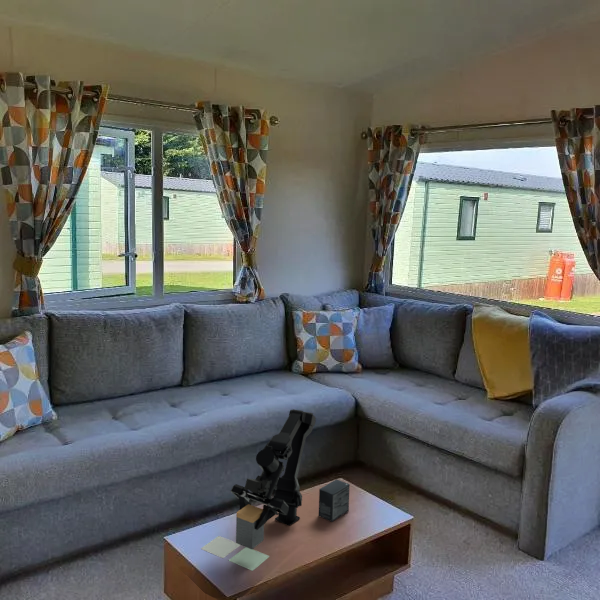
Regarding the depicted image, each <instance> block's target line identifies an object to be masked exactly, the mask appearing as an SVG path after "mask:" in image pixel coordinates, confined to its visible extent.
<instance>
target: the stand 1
mask: <svg viewBox="0 0 600 600" xmlns="http://www.w3.org/2000/svg"><path fill="white" fill-rule="evenodd" d="M240 546H241V545H240V544H237V543H236V541H233V540H231V539H228V538H226V537H223V536H221V535H218V536H216V537H215V538H213V539H212V540H211V541H209V542H208V543H207V544H205V545H204V546H202V547H200V550H203V551H204V552H208V553H210V554H211V555H214V556H217V557H219V558H220V559H225V558H226V557H227V556H228V555H230V554H232V552H234V551H235V550H237V549H238V548H239V547H240Z"/></svg>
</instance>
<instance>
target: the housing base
mask: <svg viewBox="0 0 600 600" xmlns="http://www.w3.org/2000/svg"><path fill="white" fill-rule="evenodd" d="M235 518H236V519H235V520H236V522H235V523H236V524H235V526H236V528H235V530H236V531H235V542H236V543H237V544H240V546H243V547H244V548H245V547H247V548H249V549H253V550H254V548H256V547H257V546H258V545H259V544H261V543H262V542H263V541H264V538H265V524H263V525H262V526H261V527H260V528H259V529H258V530H256V529H255V527H256V524H257V522H258V520H259V519H257V520H256V521H255V522H253V523H251V522H249V521H246V520H243V519H241V518H238V517H235Z"/></svg>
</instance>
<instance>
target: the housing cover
mask: <svg viewBox="0 0 600 600" xmlns="http://www.w3.org/2000/svg"><path fill="white" fill-rule="evenodd" d="M262 512H263V508H261V507H257V506H255V505H252V504H251V505H250V504H248V505H246V506H245V507H244V508H242V509H241V510H239V509H238V511H236V517H238V518H241V519H243V520H246V521H249V522H251V523H253V522H255V521H256V520H257V519H259V518H260V516H261V514H262ZM236 517H235V518H236Z"/></svg>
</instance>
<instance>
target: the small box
mask: <svg viewBox="0 0 600 600" xmlns="http://www.w3.org/2000/svg"><path fill="white" fill-rule="evenodd" d="M318 493H319V494H318V495H319V497H318V517H320V518H322V519H324V520H326V521H328V522H331V523H333V522H334V521H336V520H337V519H339V518H341V517H342V516H344V515H345V514H347V513H348V512H349V511H350V507H349V505H350V483H348V482H344V481H342V480H340V479H335V480H332V481H331V482H329V483H328V484H326V485H324V486H322V487H321V488H319V492H318Z"/></svg>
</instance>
